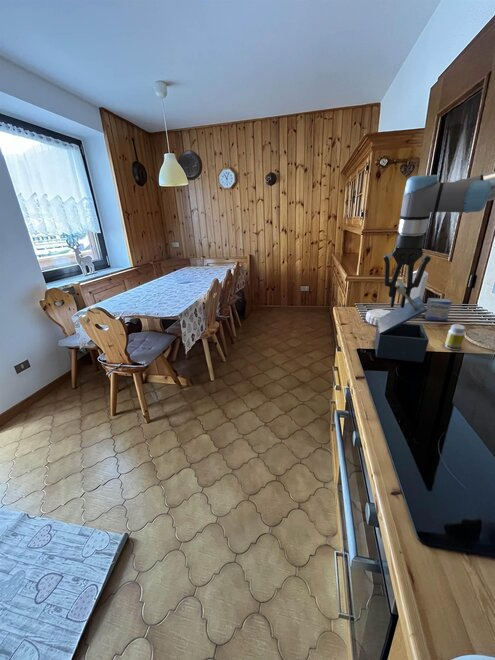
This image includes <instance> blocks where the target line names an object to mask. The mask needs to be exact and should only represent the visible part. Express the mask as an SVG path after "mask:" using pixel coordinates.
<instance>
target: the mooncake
mask: <svg viewBox="0 0 495 660" xmlns="http://www.w3.org/2000/svg"><path fill="white" fill-rule="evenodd" d="M391 311H392V310H387V309H382V308H375V309H370V310H368V311H367V312H366V313H365V314H366V315H365V321H366V322H367V323H368V324H370V325H373V326H375V327H377V323H378V320H377V319H379V318H380V317H382V316H384V315H386V314H387V313H389V312H391Z"/></svg>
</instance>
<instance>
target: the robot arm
mask: <svg viewBox="0 0 495 660" xmlns="http://www.w3.org/2000/svg"><path fill="white" fill-rule="evenodd" d="M438 178H439V176H438V175H437V174H428V175H427V174H425V175H412V176H410V177H408V179H407V180H406V183H405V187H404V192H403V197H402V204H401V209H400V216H399V222H398V227H397V233H398V234H397V235H396V236H395V237H396V238H395V243H394V248H393V250H392V251H391V253H388V254H383V256H382V259H383V260H384V279H383V280H384V281H383V283H384V286H385V287H388V297H389V298H390V302H389V306H390V308H394V306H395V300H396V295H397V292H398V291H397V288H396V286H395V284H396V282H397V281H398V278H399V275H400V273H401V270H402V267H403V266H407V275H406V285H407V287H406V286H405V288H406V292H405V293H406V295H407V296H408V297H410V293H411V289H412V288H414V287H418V286H419V284H420V281H421V279H422V276H423V273H424V271H426V268H427V265H428V264H429V263H430V261H431V260H432V257H431V256H430V255H428V254H425V253H424V250H423V249H424V248H423V247H424V243H425V239H426V238H425V237H426V235H425V234H426V233H427V229H428V226H429V225H428V224H429V219H430V214H431V213H465V214H468V213H479V212H482V211H483V210H484V209H485V207H486V205H487V202H489V201H494V200H495V170H493V171H490V172H486V173H483V174H479V175H475V176H470V177H467V178H462V179H458V180H455V181H448V182H445V181H444V182H440V181H439V180H438ZM392 259H394V260H395V262H396V263H395V266H394V270H393V273H392V277H391V279H390V271H391V270H390V269H391V261H392ZM419 259H420V263H419V266H418V268H419V269H418V268H417V269H418V271H417V270H416V271H417V274H416V277H415V280H414V283H412V281H413V272H414V268H415V263H416V262H418V260H419ZM405 300H406V298H405V296H404V295H403V294H401V299H400V303H399V307H400V306H401V308H404V304H405Z"/></svg>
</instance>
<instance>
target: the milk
mask: <svg viewBox="0 0 495 660" xmlns="http://www.w3.org/2000/svg"><path fill="white" fill-rule="evenodd" d="M416 269H417V270H413V281H412V283H414V280H415V277H416V274H417V271H418V269H419V267H418V268H416ZM428 279H429V273H428V272H427V271H426V270H424V273H423V276H422V279H421V281H420V284H419V286H418V287H414V288H412V289H411V293H410V297H411V299H412V300H413V299H414V298H416V297H418V296H420V298H421V300H422V301H423V299H424V297H425V290H426V287H427V282H428ZM405 287H407V284H406V285H405ZM407 302H408V300H407V299H406V300H405V303H407ZM415 318H416V317H414V318H413V319H415Z"/></svg>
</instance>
